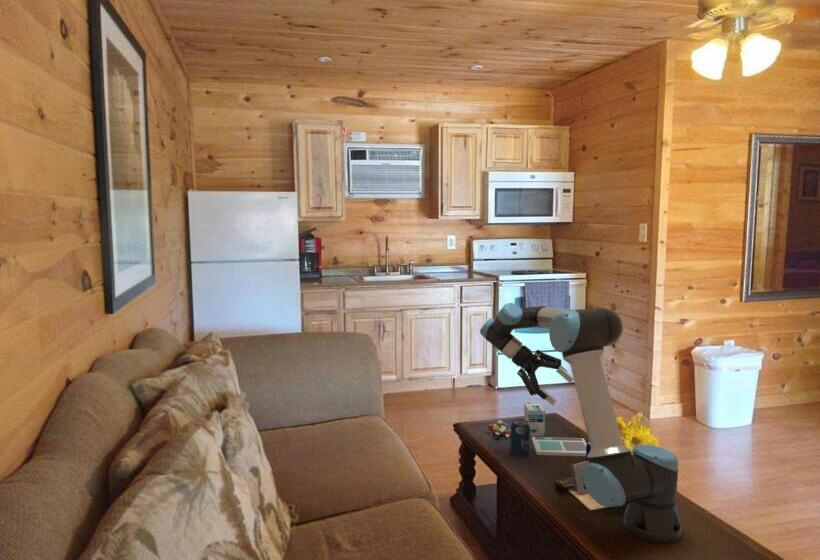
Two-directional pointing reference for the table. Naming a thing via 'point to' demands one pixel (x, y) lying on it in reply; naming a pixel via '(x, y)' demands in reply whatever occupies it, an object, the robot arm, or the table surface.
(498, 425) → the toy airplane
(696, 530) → the table surface
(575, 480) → the electrical switch
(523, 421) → the soda can
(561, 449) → the white teal rectangular board
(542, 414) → the light bulb box
